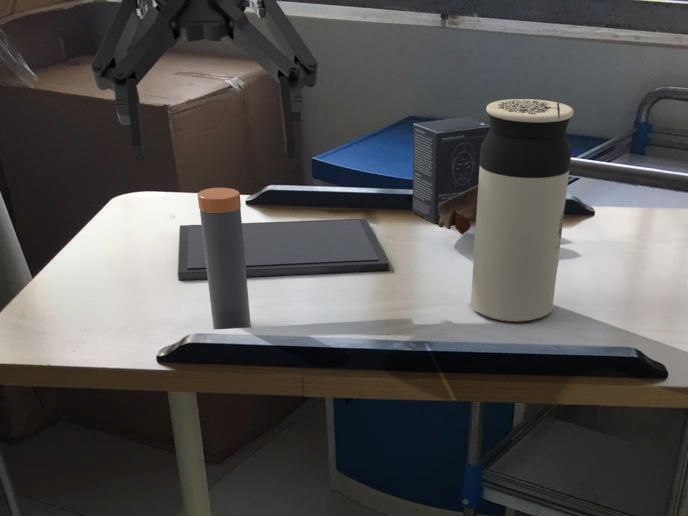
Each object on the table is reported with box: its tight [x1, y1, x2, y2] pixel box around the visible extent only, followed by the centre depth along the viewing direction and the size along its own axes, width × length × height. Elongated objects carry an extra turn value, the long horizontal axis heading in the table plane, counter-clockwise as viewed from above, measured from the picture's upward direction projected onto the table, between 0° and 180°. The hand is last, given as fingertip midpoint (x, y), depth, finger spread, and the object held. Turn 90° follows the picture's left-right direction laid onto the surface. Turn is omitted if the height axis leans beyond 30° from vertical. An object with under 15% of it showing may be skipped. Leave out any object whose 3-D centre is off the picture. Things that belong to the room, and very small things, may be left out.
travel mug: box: [470, 98, 575, 323], centre depth 81 cm, size 8×8×18 cm
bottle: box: [197, 187, 252, 330], centre depth 78 cm, size 4×4×12 cm
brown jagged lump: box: [437, 185, 478, 235], centre depth 101 cm, size 12×10×8 cm
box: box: [412, 116, 490, 224], centre depth 108 cm, size 8×6×11 cm
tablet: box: [177, 217, 390, 281], centre depth 99 cm, size 22×16×1 cm
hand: (215, 153), depth 81 cm, fingers open, 13 cm apart
